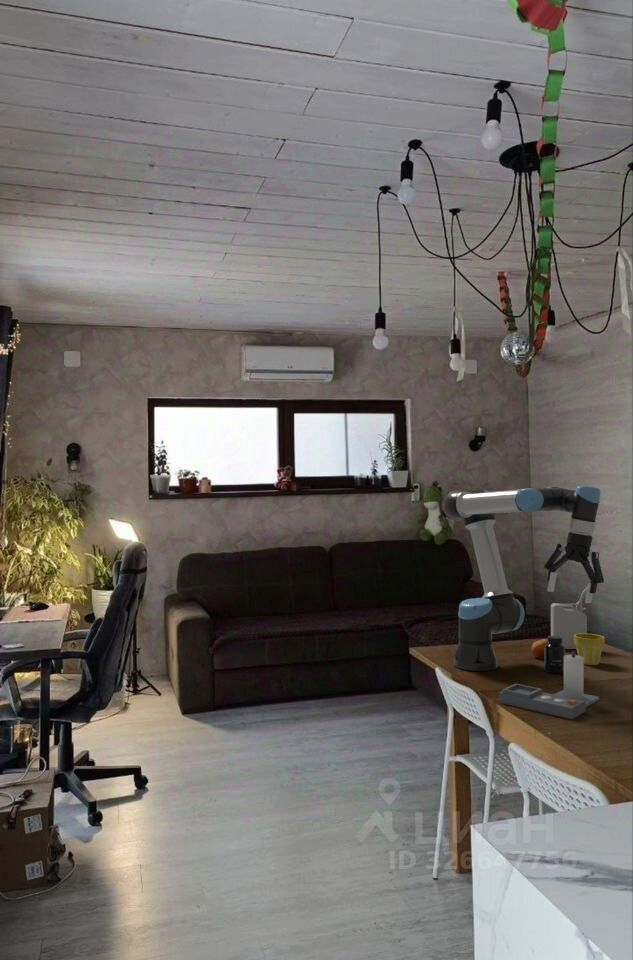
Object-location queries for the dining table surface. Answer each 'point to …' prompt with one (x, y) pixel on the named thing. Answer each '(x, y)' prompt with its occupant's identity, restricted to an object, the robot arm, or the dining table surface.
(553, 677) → the dining table surface
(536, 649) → the fruit
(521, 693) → the grey control panel
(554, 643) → the supplement bottle
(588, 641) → the plant pot
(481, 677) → the dining table surface
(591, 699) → the mat
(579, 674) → the paper towel holder
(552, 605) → the gas can
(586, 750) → the dining table surface
